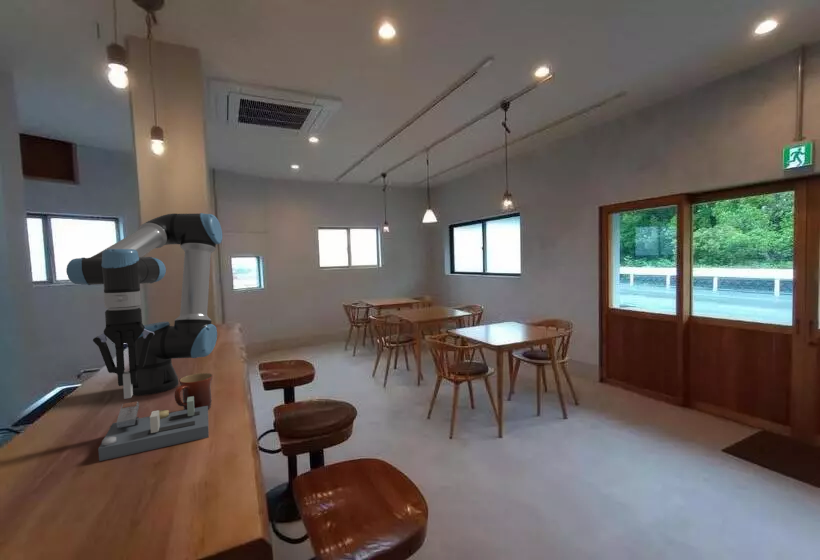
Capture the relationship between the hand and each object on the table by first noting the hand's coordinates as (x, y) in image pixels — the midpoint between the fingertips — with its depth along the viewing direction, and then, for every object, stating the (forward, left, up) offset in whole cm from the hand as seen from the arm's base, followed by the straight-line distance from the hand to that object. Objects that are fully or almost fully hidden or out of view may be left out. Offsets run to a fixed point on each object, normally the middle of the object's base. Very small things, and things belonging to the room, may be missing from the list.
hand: (128, 396), depth 98 cm
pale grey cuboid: (+10, +7, -6) cm, 14 cm away
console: (+6, +7, -10) cm, 14 cm away
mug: (-6, +14, -10) cm, 18 cm away
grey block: (+4, +14, -6) cm, 16 cm away
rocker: (+3, 0, -4) cm, 5 cm away
